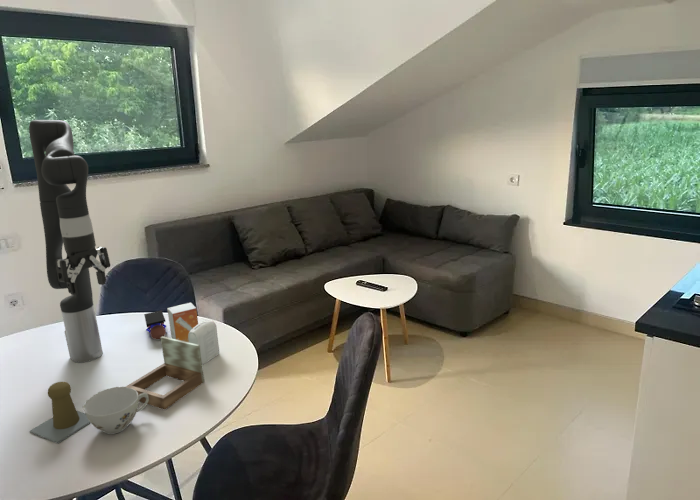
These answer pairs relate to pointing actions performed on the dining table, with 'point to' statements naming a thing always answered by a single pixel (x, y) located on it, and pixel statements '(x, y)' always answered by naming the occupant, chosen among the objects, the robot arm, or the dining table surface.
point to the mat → (59, 435)
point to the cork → (62, 405)
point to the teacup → (113, 408)
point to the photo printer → (205, 339)
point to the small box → (182, 320)
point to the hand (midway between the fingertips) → (88, 289)
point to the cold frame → (173, 373)
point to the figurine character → (155, 324)
